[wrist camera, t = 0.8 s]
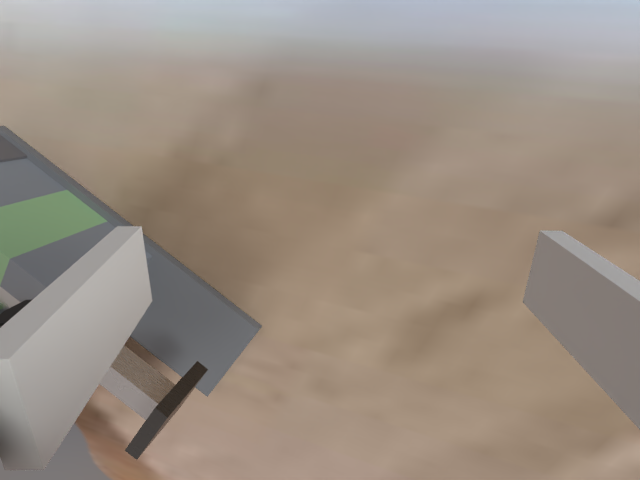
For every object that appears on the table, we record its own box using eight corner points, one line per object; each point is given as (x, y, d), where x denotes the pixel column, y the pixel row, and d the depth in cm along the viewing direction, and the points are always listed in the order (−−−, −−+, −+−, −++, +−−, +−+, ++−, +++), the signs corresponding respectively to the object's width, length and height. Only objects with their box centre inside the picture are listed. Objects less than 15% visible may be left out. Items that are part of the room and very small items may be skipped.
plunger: (208, 369, 37) (147, 442, 29) (179, 408, 39) (115, 485, 31) (52, 248, 37) (-49, 288, 29) (33, 294, 39) (-65, 343, 32)
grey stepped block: (262, 326, 41) (189, 420, 29) (210, 391, 46) (130, 496, 34) (4, 125, 42) (-171, 138, 30) (-22, 210, 46) (-182, 250, 34)
